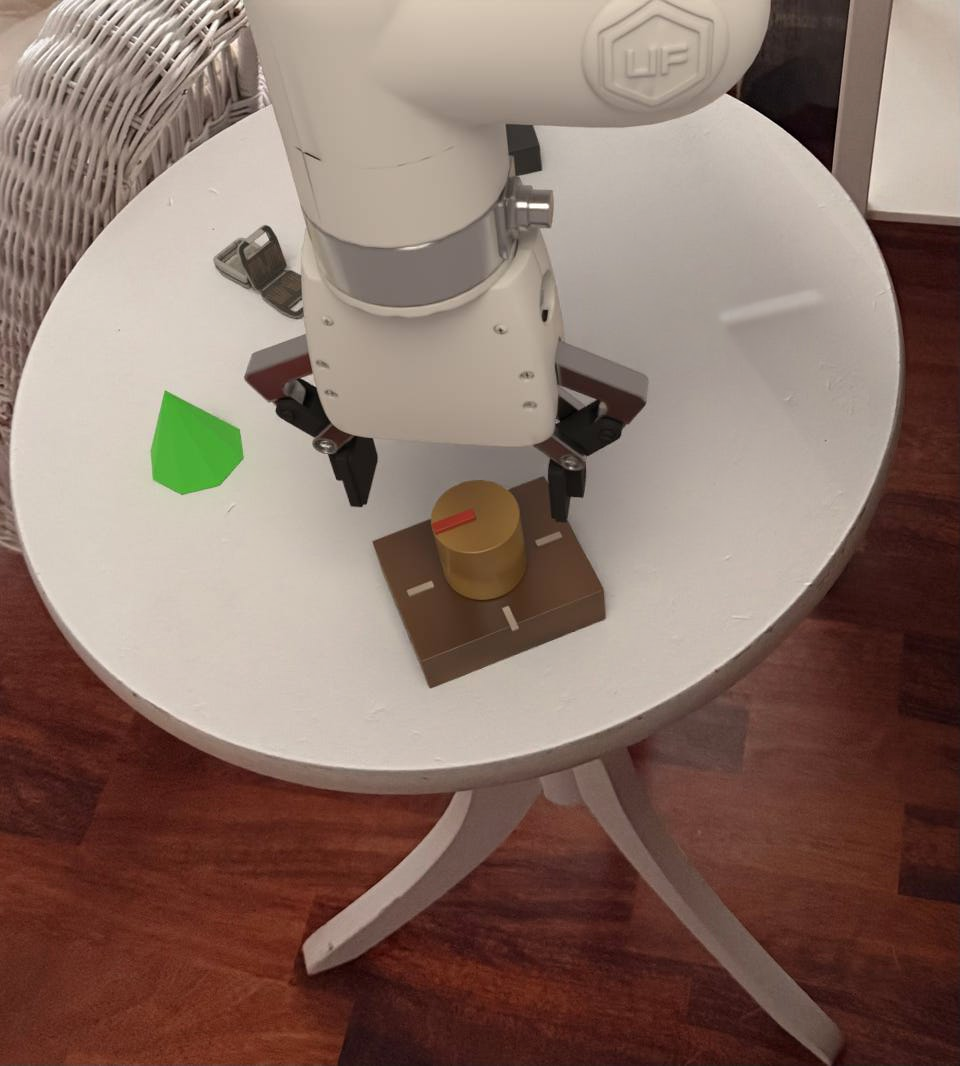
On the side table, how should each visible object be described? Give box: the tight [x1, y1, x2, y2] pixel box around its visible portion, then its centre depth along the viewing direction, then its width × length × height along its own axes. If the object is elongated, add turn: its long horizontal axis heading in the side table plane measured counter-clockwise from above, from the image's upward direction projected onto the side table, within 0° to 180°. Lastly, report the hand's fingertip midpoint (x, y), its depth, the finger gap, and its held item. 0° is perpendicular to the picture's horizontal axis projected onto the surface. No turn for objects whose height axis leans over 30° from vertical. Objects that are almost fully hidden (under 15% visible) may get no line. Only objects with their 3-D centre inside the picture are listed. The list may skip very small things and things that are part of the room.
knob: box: [430, 479, 527, 600], centre depth 63 cm, size 4×4×5 cm
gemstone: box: [150, 389, 244, 495], centre depth 73 cm, size 6×6×6 cm
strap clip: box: [212, 224, 304, 319], centre depth 81 cm, size 8×3×4 cm, turn 48°
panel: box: [371, 475, 607, 689], centre depth 66 cm, size 10×9×3 cm
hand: (463, 490), depth 59 cm, fingers open, 9 cm apart
